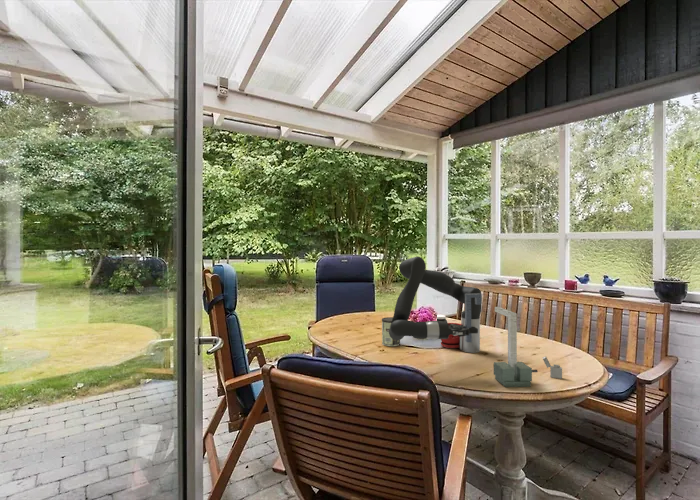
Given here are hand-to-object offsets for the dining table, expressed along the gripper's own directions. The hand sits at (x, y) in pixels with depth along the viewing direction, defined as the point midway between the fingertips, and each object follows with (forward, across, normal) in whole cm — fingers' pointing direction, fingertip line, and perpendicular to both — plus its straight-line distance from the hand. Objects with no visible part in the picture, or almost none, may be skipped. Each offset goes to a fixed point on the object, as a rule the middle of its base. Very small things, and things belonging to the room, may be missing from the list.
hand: (476, 329), depth 152 cm
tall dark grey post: (-1, 0, +5) cm, 5 cm away
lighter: (+31, -4, +19) cm, 36 cm away
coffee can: (-30, +48, +19) cm, 60 cm away
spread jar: (+5, +67, +19) cm, 70 cm away
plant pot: (+2, +42, +19) cm, 46 cm away
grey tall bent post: (+13, -5, +19) cm, 23 cm away
